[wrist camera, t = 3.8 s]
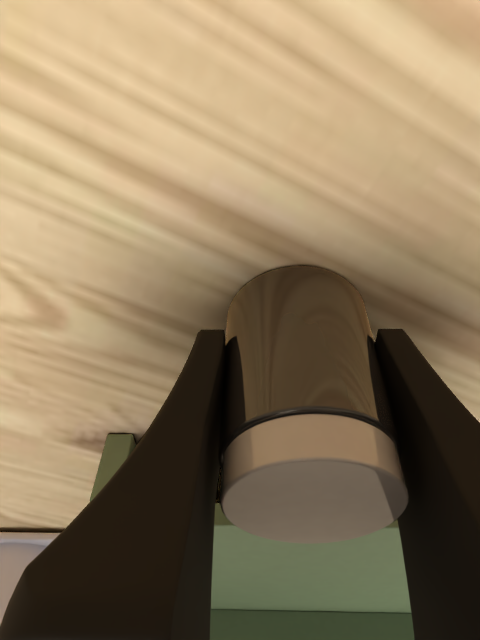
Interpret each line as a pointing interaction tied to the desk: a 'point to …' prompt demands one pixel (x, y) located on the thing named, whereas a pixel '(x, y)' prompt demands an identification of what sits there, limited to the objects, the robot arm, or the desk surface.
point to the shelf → (296, 580)
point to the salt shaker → (306, 413)
